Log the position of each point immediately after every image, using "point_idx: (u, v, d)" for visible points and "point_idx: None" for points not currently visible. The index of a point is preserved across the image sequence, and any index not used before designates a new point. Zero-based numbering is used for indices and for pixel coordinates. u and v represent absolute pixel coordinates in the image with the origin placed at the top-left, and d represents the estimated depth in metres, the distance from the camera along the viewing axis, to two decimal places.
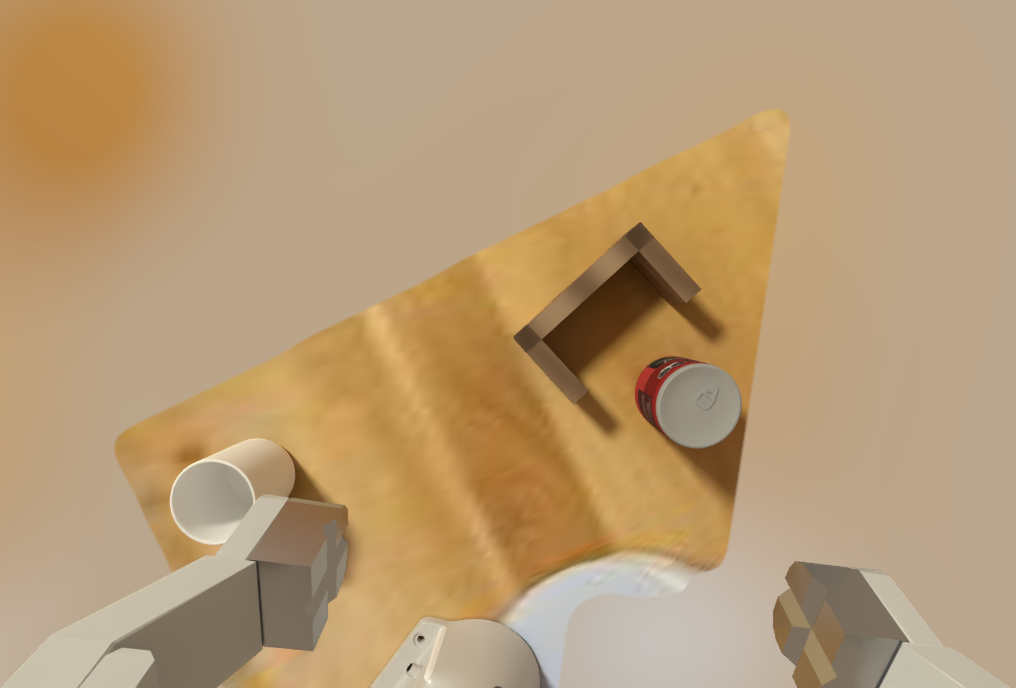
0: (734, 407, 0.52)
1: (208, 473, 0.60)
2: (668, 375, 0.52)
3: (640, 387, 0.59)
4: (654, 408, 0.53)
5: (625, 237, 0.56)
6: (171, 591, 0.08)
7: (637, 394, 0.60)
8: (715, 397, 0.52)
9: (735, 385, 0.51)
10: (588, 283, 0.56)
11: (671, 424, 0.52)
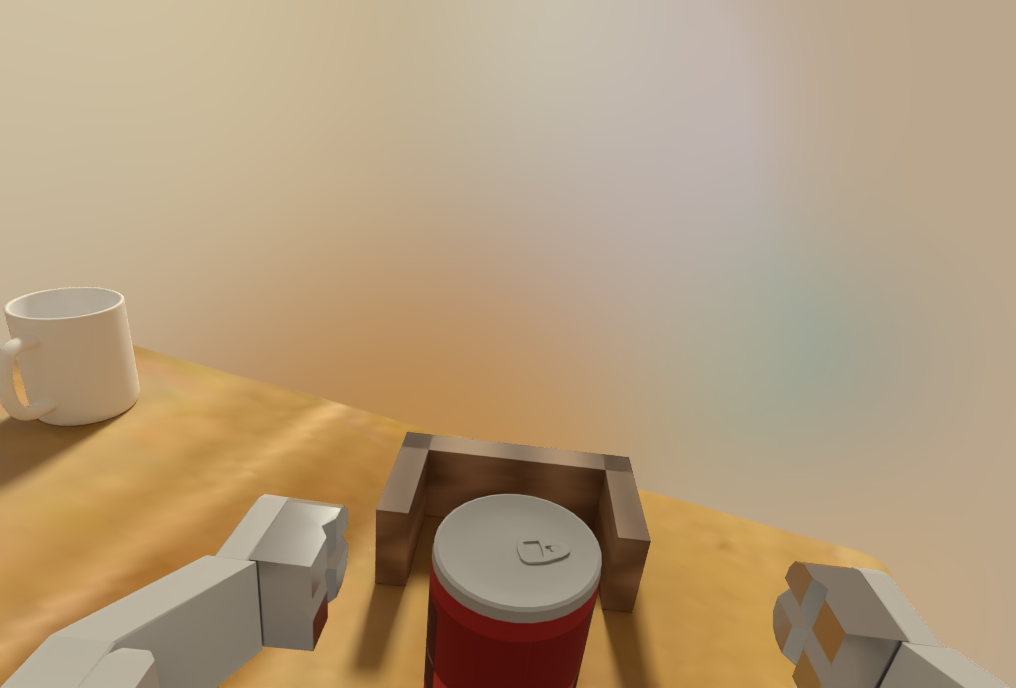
0: (568, 589, 0.24)
1: None
2: None
3: None
4: None
5: (601, 455, 0.43)
6: (171, 591, 0.08)
7: None
8: (553, 560, 0.26)
9: (597, 564, 0.26)
10: (526, 453, 0.42)
11: (455, 534, 0.27)
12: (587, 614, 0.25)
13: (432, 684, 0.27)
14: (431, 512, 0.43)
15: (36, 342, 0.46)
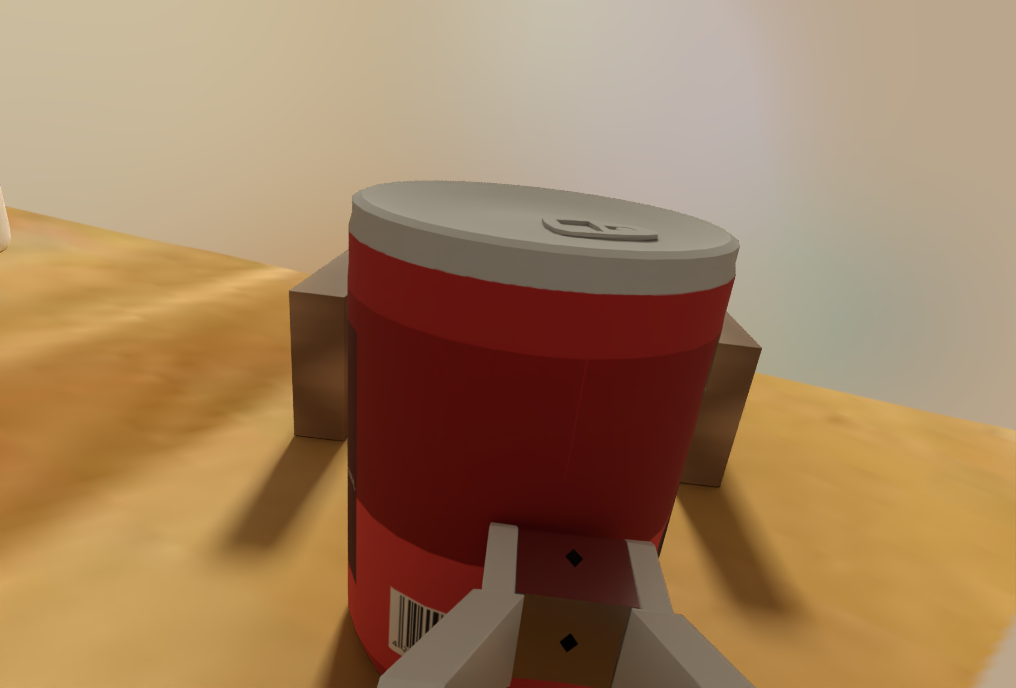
0: None
1: None
2: None
3: None
4: None
5: None
6: (465, 628, 0.08)
7: None
8: (625, 237, 0.11)
9: (731, 237, 0.11)
10: None
11: (408, 200, 0.12)
12: (714, 336, 0.11)
13: (355, 534, 0.13)
14: None
15: None
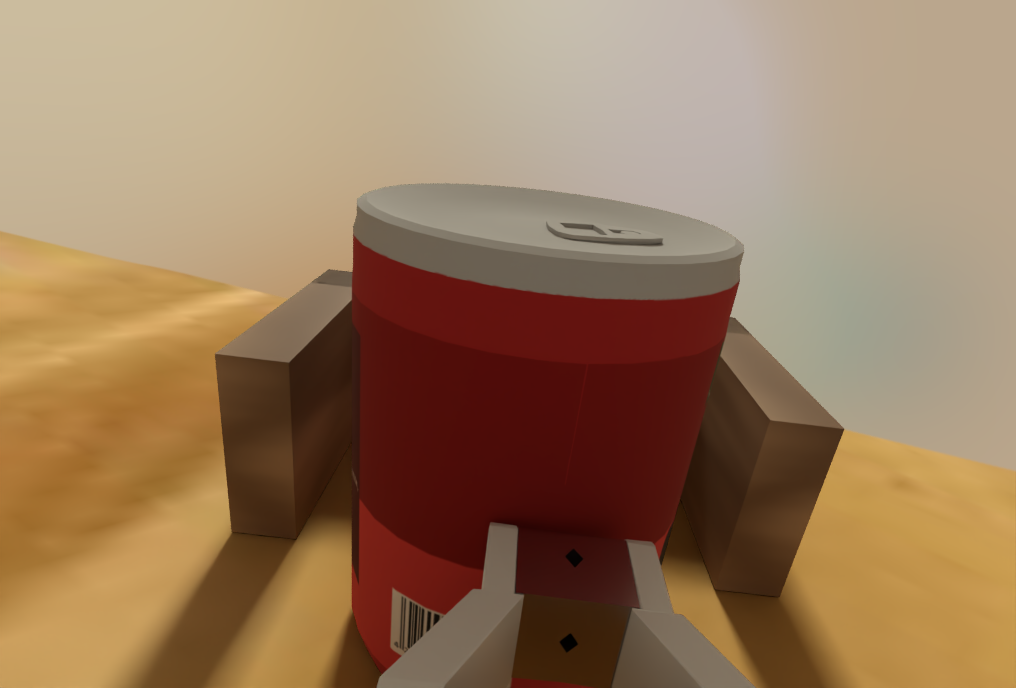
0: None
1: None
2: None
3: None
4: None
5: None
6: (464, 628, 0.08)
7: None
8: (629, 241, 0.11)
9: (735, 241, 0.11)
10: None
11: (413, 203, 0.12)
12: (717, 341, 0.10)
13: (358, 534, 0.13)
14: None
15: None
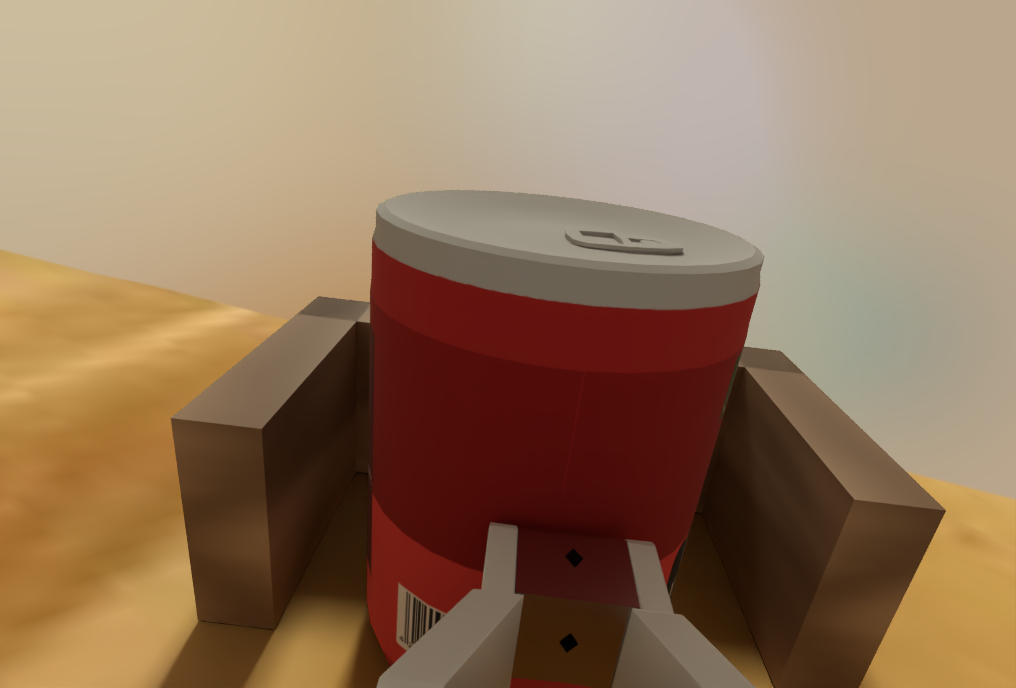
0: None
1: None
2: None
3: None
4: None
5: None
6: (465, 628, 0.08)
7: None
8: (645, 250, 0.11)
9: (755, 253, 0.11)
10: None
11: (436, 208, 0.13)
12: (729, 355, 0.10)
13: (371, 528, 0.13)
14: None
15: None
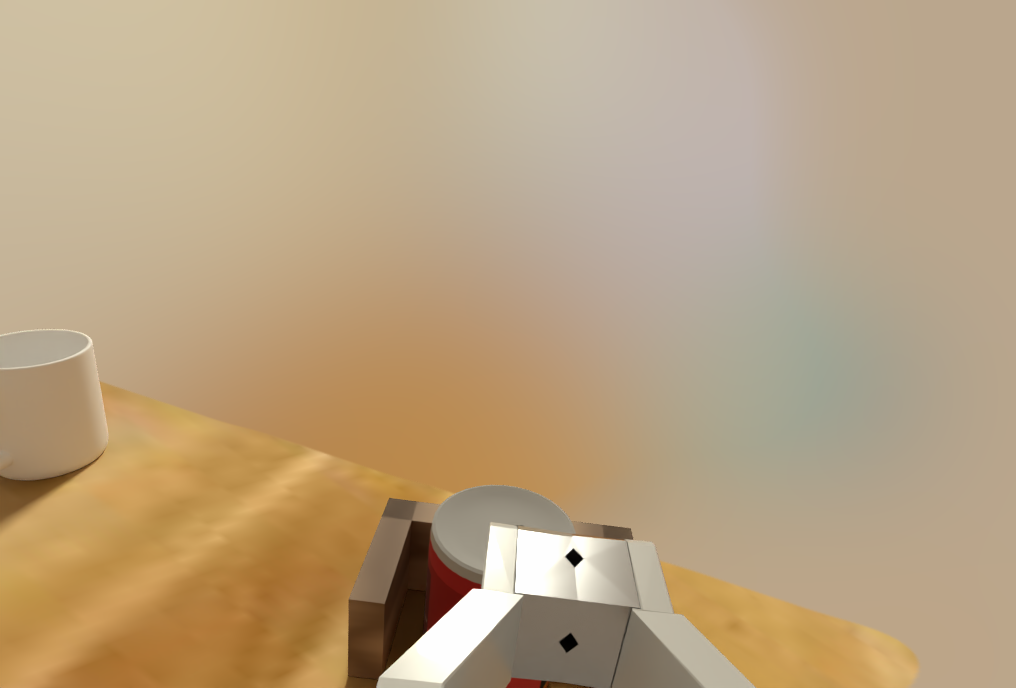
0: None
1: None
2: None
3: None
4: None
5: (601, 526, 0.39)
6: (464, 628, 0.08)
7: None
8: None
9: None
10: None
11: (453, 512, 0.32)
12: None
13: None
14: (415, 586, 0.40)
15: None
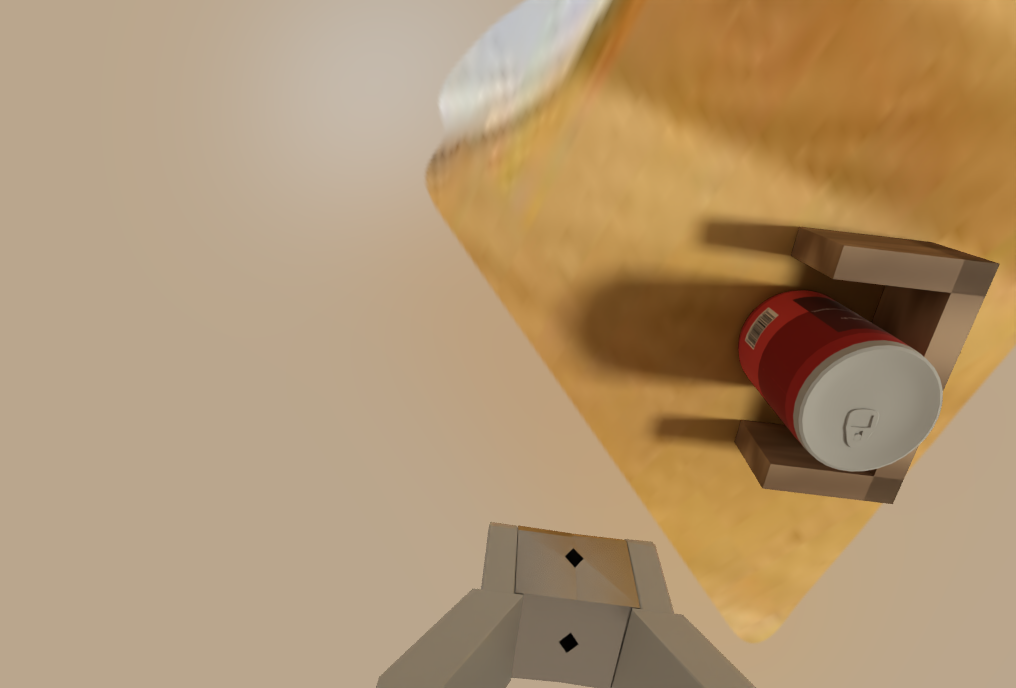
0: (812, 435, 0.32)
1: None
2: None
3: None
4: None
5: (901, 478, 0.38)
6: (464, 628, 0.08)
7: None
8: (845, 432, 0.32)
9: (827, 463, 0.32)
10: None
11: (902, 364, 0.30)
12: (795, 437, 0.34)
13: (802, 306, 0.36)
14: None
15: None
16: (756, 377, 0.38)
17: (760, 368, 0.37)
